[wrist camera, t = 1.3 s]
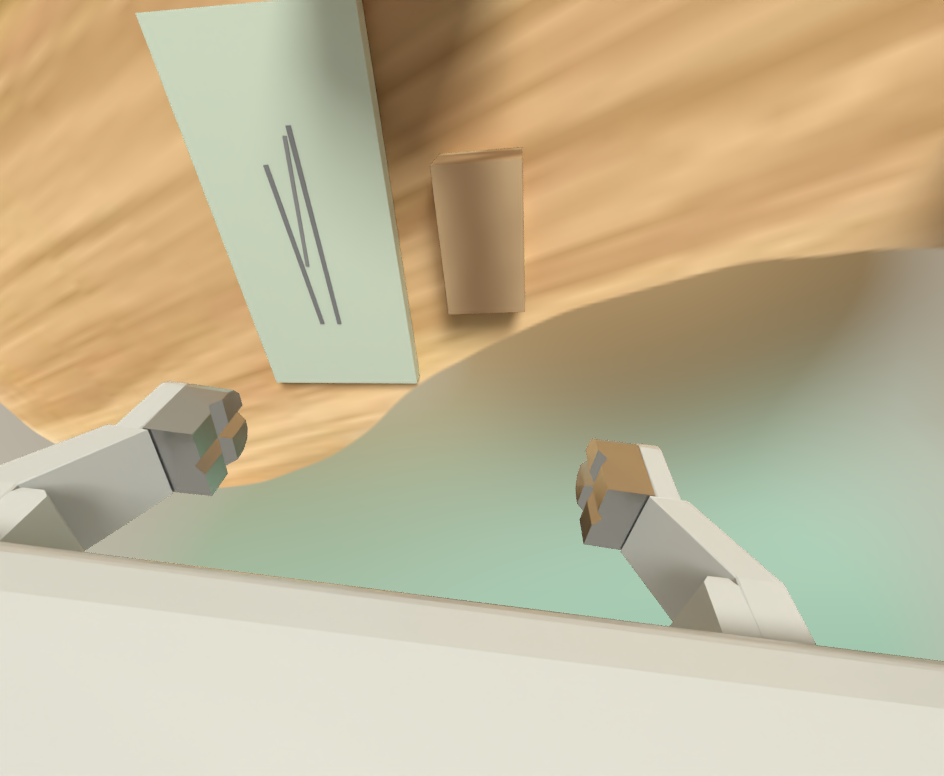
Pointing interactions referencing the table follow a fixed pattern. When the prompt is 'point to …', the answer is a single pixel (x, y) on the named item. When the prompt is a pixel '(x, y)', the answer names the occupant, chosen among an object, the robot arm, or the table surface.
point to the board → (295, 178)
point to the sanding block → (481, 229)
